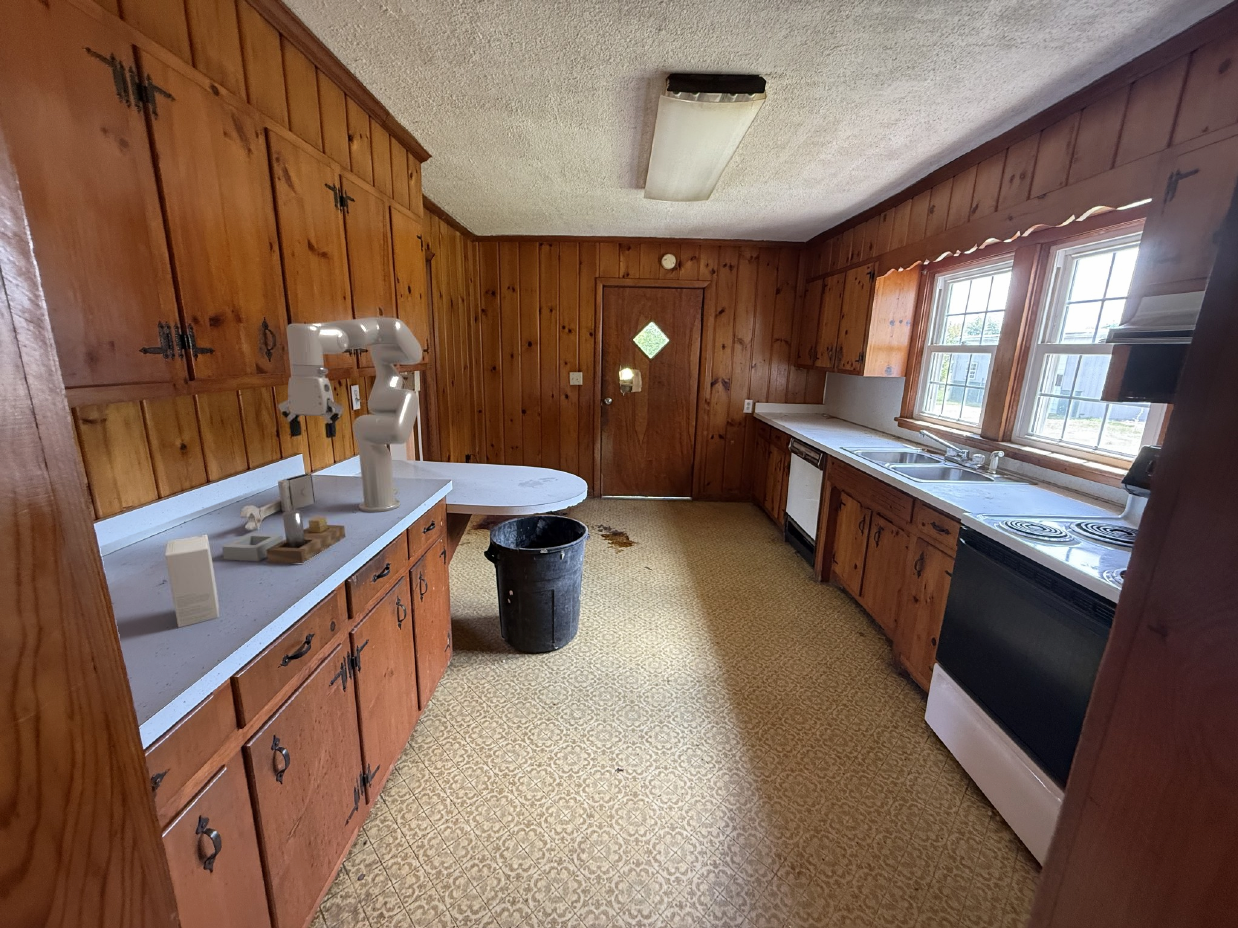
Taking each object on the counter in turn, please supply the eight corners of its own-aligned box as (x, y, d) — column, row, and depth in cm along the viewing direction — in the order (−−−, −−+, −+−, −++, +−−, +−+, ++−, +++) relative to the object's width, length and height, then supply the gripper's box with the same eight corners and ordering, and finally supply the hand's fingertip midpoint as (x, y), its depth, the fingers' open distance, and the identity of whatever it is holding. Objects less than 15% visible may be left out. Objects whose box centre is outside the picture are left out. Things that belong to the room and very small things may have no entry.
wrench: (289, 512, 165) (249, 535, 137) (283, 513, 165) (241, 536, 136) (287, 489, 164) (246, 508, 136) (281, 490, 164) (239, 508, 135)
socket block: (315, 535, 139) (313, 524, 139) (345, 536, 139) (344, 525, 138) (268, 562, 122) (266, 549, 121) (302, 564, 122) (300, 551, 121)
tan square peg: (317, 533, 136) (315, 516, 135) (328, 533, 136) (326, 517, 135) (310, 537, 133) (308, 520, 132) (321, 537, 133) (319, 520, 132)
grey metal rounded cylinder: (295, 552, 128) (289, 509, 125) (310, 553, 128) (304, 510, 125) (284, 558, 124) (278, 514, 121) (299, 559, 124) (293, 515, 121)
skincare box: (179, 610, 100) (165, 540, 96) (220, 600, 104) (208, 533, 100) (177, 629, 93) (162, 554, 90) (221, 618, 97) (208, 546, 94)
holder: (252, 545, 132) (250, 533, 131) (284, 546, 131) (282, 534, 130) (224, 559, 123) (222, 546, 122) (258, 560, 123) (256, 548, 122)
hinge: (288, 515, 155) (284, 485, 153) (272, 514, 155) (267, 484, 153) (317, 501, 169) (313, 473, 166) (302, 500, 169) (298, 473, 167)
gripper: (348, 373, 130) (353, 436, 134) (286, 371, 131) (292, 433, 134) (330, 373, 123) (336, 439, 126) (265, 371, 124) (272, 437, 127)
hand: (313, 436), depth 130 cm, fingers open, 9 cm apart
